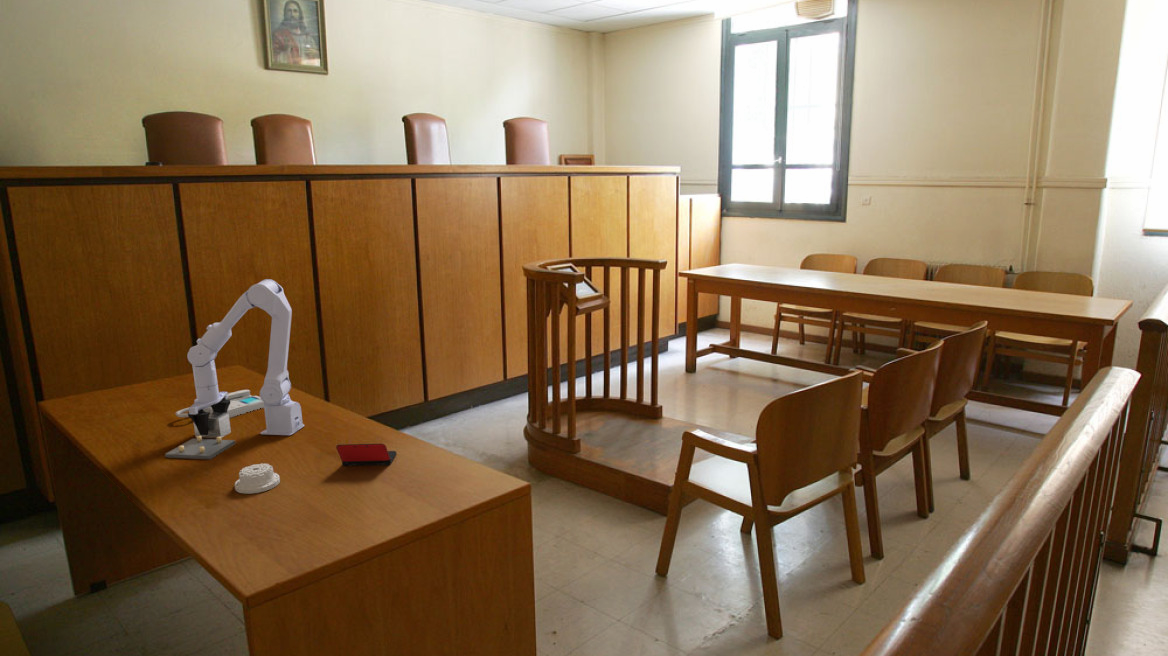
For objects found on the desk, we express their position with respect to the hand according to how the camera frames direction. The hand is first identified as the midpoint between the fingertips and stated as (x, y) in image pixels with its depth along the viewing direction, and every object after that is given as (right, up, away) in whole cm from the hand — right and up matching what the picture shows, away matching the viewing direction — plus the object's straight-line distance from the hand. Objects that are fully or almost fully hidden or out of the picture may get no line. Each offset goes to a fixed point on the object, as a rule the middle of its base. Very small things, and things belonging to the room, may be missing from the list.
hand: (212, 429), depth 208 cm
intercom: (-7, +2, +19) cm, 20 cm away
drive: (0, -2, 0) cm, 2 cm away
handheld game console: (+51, -6, -21) cm, 56 cm away
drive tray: (+3, -4, -11) cm, 12 cm away
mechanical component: (+28, -9, -33) cm, 45 cm away
